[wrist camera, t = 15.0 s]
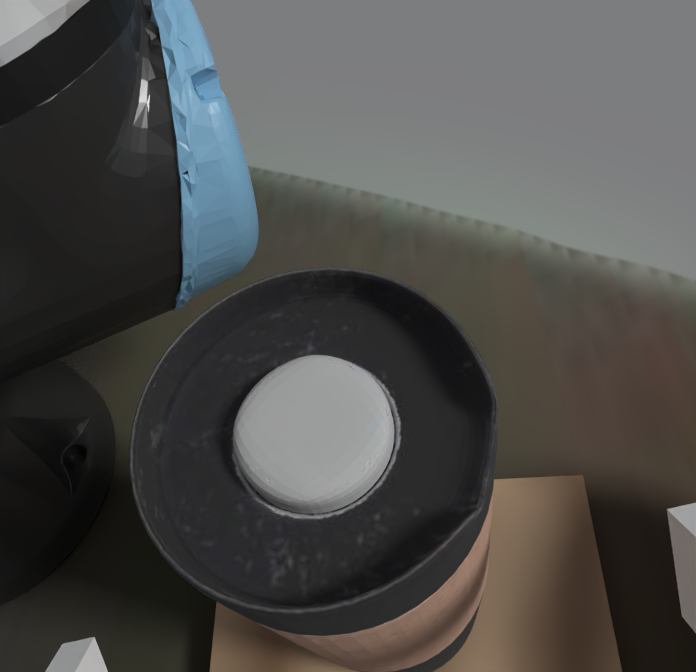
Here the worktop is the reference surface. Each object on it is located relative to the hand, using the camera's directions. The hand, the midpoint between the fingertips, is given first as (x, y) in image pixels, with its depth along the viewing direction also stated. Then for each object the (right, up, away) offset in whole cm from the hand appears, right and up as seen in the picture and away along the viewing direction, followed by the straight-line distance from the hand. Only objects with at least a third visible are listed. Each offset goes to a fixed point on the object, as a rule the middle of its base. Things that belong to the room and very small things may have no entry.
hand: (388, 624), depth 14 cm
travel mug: (+2, -6, +15) cm, 16 cm away
